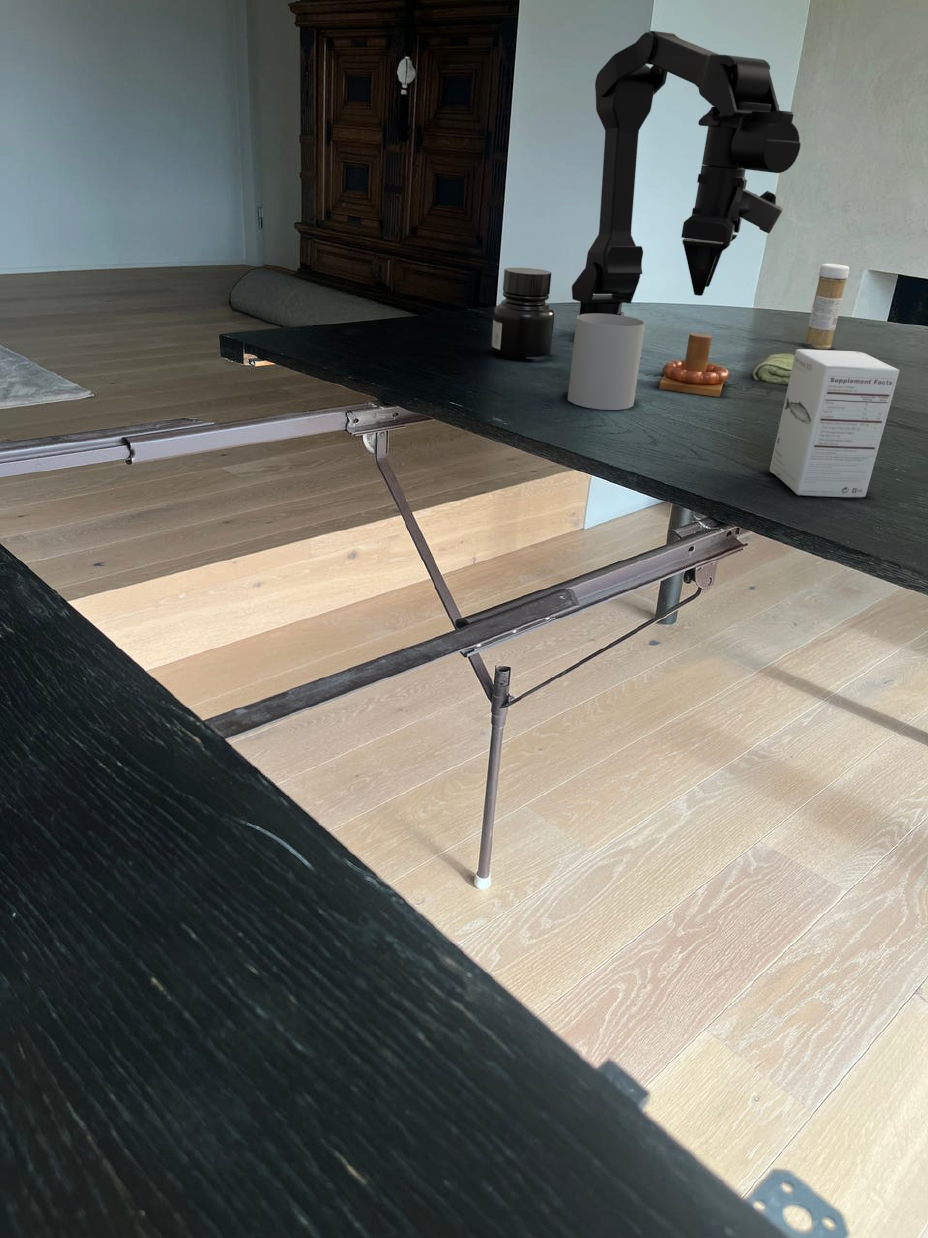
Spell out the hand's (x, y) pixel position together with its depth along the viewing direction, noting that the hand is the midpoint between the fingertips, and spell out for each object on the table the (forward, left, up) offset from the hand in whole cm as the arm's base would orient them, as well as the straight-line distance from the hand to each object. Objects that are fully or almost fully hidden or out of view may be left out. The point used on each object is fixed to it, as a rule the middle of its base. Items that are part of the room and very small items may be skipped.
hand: (701, 290), depth 133 cm
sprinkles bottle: (+18, +35, -12) cm, 42 cm away
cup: (-9, -23, -12) cm, 27 cm away
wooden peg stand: (+1, -8, -12) cm, 14 cm away
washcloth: (+18, +3, -12) cm, 22 cm away
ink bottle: (-25, -2, -12) cm, 27 cm away
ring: (+1, -6, -10) cm, 12 cm away
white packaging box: (+17, -45, -12) cm, 49 cm away
